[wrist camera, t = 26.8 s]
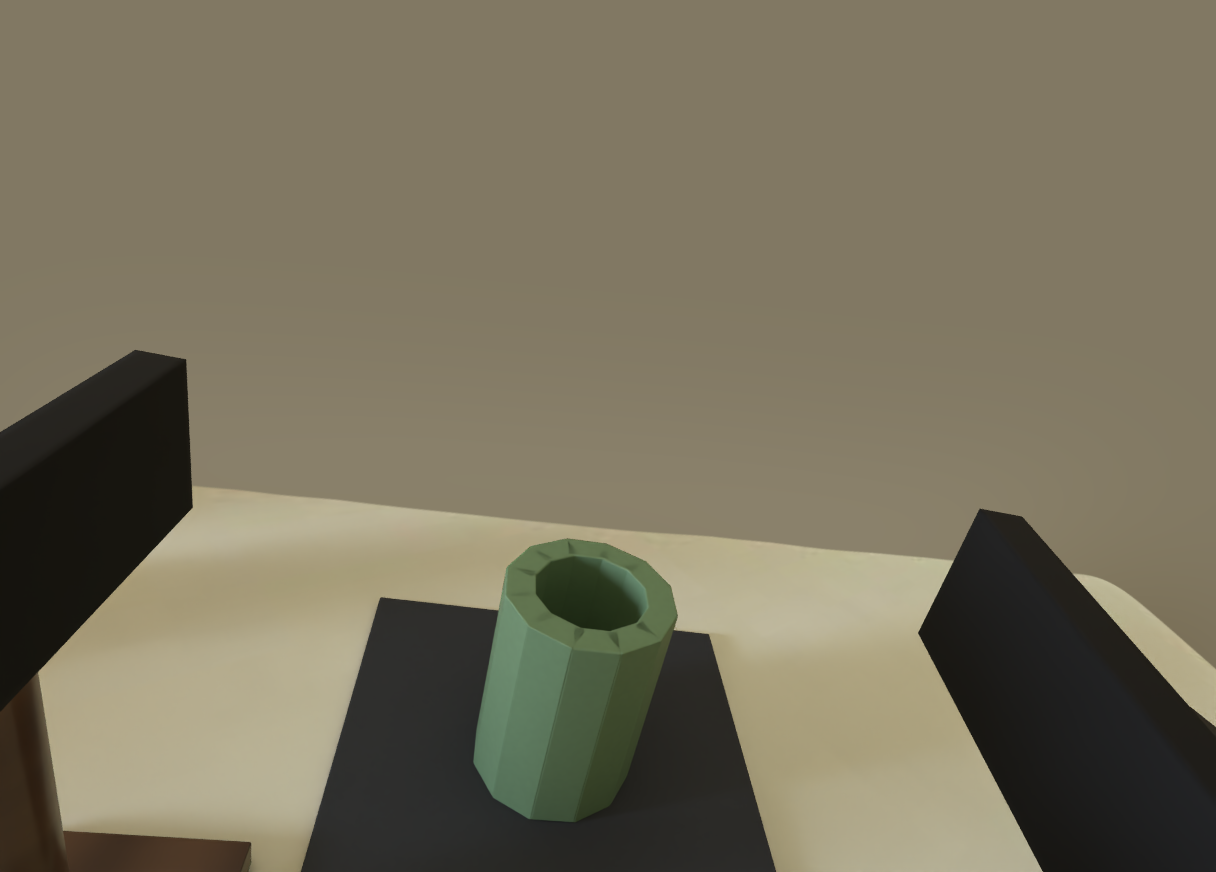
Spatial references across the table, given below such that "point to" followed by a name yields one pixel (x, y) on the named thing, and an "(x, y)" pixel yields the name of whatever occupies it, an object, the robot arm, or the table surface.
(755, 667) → the table surface
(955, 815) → the table surface
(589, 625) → the hollow cylinder
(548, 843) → the placemat
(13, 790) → the peg stand
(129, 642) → the table surface
